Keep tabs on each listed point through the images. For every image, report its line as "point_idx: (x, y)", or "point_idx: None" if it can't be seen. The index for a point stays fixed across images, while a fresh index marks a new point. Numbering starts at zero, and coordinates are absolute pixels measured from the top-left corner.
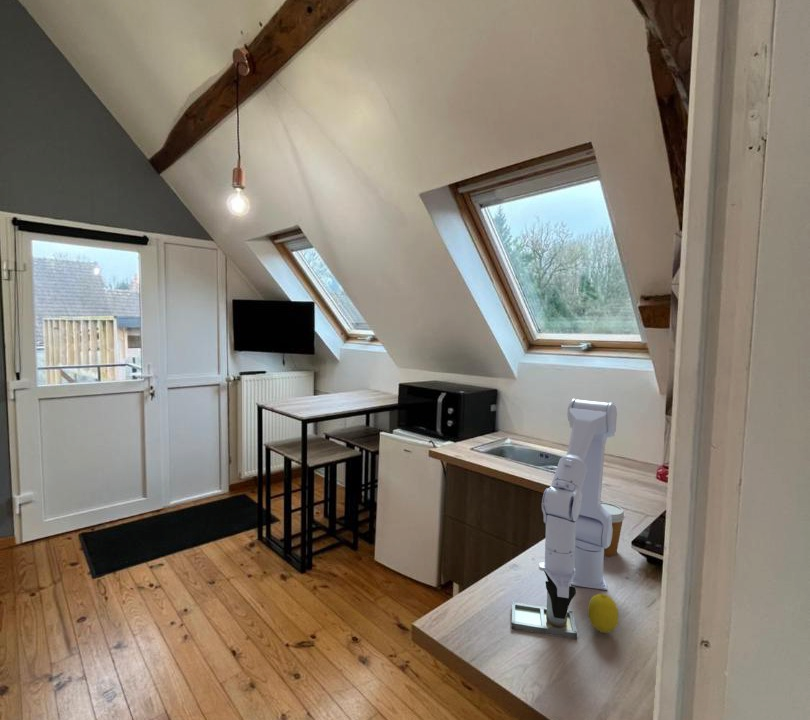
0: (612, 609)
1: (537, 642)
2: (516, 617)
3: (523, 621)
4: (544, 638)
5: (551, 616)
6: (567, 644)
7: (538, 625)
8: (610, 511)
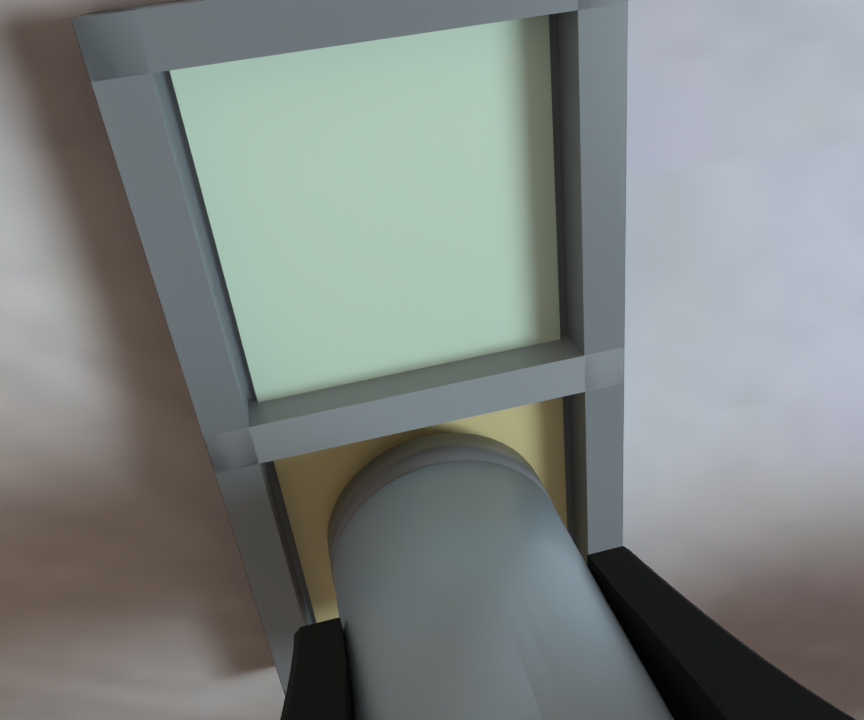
0: None
1: (12, 379)
2: (335, 62)
3: (283, 176)
4: (136, 433)
5: (355, 565)
6: (169, 619)
7: (225, 394)
8: None
